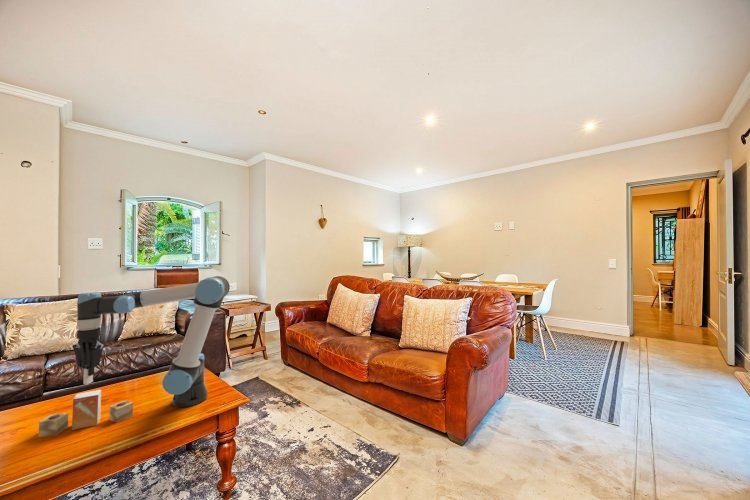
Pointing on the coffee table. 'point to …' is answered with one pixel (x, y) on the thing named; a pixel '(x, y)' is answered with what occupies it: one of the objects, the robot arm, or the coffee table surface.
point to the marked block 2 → (121, 411)
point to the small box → (86, 409)
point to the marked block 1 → (53, 424)
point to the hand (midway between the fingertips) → (88, 382)
